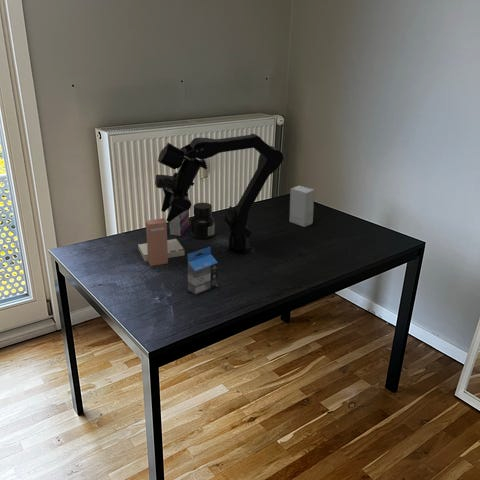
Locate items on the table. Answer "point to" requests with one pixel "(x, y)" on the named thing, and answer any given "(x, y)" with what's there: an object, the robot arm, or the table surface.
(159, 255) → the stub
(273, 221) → the table surface
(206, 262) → the label tape cartridge
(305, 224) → the skincare box
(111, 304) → the table surface
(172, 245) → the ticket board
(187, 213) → the candy bar box
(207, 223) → the ink bottle
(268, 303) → the table surface
